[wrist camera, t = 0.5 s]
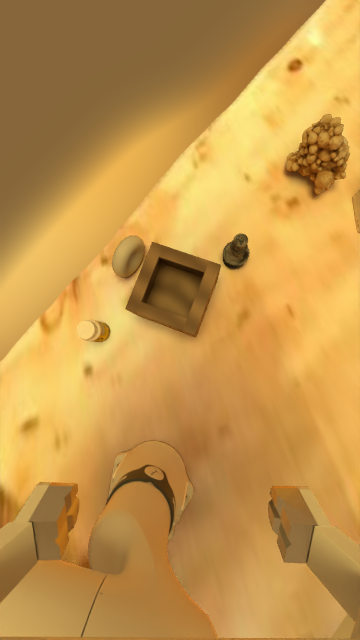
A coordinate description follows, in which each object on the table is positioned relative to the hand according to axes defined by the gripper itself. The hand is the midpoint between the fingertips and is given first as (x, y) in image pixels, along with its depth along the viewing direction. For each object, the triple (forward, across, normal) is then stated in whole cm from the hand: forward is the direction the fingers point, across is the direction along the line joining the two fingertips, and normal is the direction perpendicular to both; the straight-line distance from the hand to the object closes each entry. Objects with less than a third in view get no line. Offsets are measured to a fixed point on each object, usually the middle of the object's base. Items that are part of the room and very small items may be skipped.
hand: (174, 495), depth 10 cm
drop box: (+51, 0, +1) cm, 51 cm away
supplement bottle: (+50, -18, -8) cm, 54 cm away
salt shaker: (+53, +14, +10) cm, 56 cm away
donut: (+55, -11, +8) cm, 57 cm away
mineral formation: (+58, +31, +30) cm, 73 cm away
